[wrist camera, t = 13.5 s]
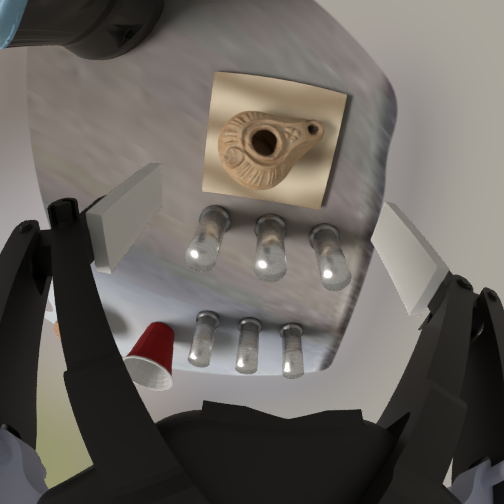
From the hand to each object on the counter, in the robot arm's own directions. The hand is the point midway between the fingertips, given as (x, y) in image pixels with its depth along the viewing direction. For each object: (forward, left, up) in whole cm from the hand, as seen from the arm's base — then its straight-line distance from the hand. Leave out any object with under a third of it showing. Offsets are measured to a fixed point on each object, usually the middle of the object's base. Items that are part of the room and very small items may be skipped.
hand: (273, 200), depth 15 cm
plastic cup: (+40, -16, -21) cm, 48 cm away
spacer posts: (+23, +2, -21) cm, 31 cm away
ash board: (0, 0, -21) cm, 21 cm away
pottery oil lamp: (0, 0, -20) cm, 20 cm away
